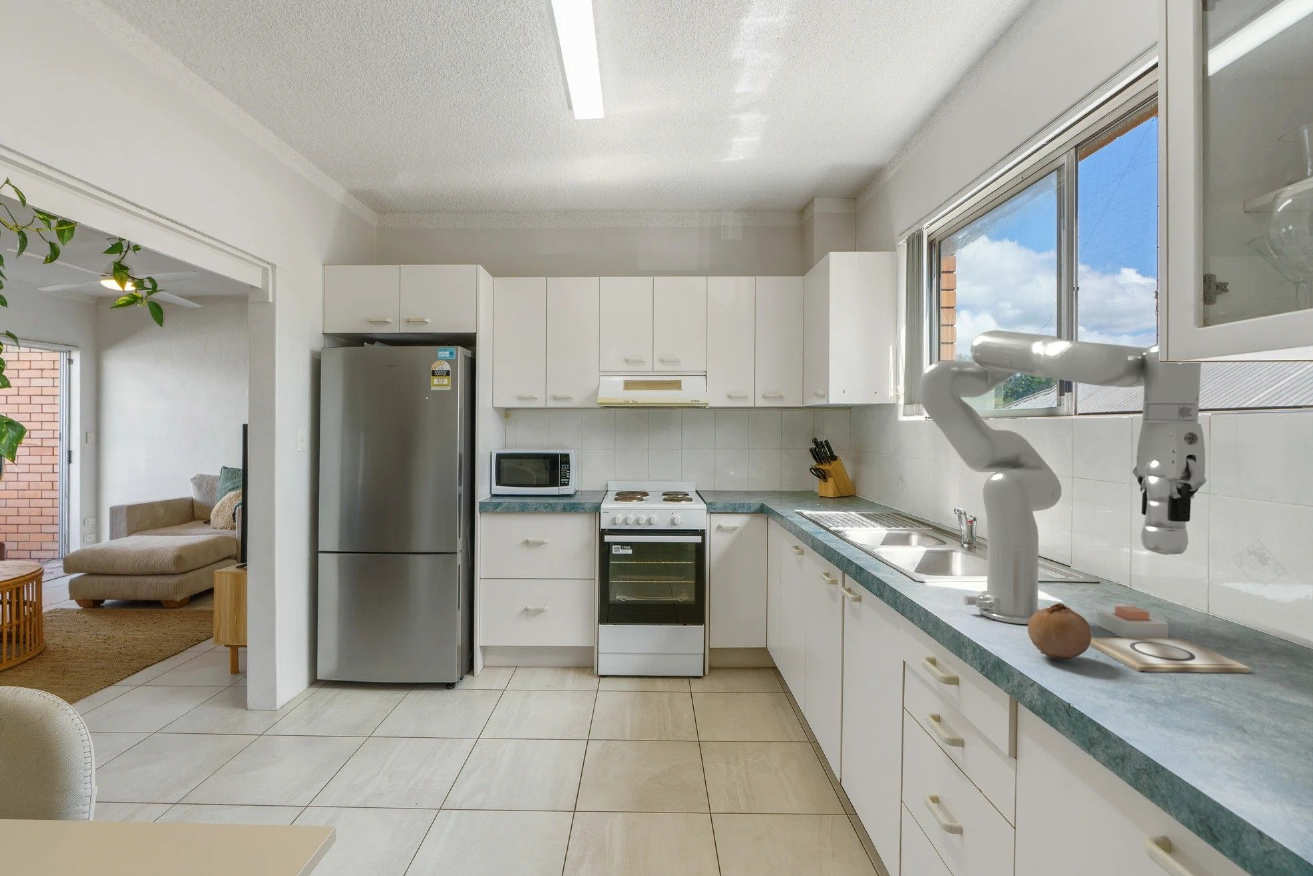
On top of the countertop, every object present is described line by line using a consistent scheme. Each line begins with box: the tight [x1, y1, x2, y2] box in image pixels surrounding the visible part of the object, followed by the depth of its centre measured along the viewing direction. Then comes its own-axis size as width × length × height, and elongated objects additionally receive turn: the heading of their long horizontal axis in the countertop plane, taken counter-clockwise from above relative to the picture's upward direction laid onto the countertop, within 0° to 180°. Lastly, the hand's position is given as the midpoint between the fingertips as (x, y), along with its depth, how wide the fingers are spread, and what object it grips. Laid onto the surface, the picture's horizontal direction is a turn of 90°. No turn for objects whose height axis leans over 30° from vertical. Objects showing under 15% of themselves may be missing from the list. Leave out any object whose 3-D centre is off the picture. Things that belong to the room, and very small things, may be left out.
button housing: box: [1096, 610, 1169, 639], centre depth 124 cm, size 8×8×3 cm
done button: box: [1114, 605, 1150, 621], centre depth 124 cm, size 4×4×3 cm
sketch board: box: [1089, 637, 1251, 674], centre depth 111 cm, size 18×14×1 cm
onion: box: [1027, 602, 1093, 661], centre depth 109 cm, size 10×9×10 cm
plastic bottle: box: [1140, 460, 1189, 556], centre depth 110 cm, size 6×7×20 cm
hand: (1164, 517), depth 110 cm, fingers closed on plastic bottle, 5 cm apart
